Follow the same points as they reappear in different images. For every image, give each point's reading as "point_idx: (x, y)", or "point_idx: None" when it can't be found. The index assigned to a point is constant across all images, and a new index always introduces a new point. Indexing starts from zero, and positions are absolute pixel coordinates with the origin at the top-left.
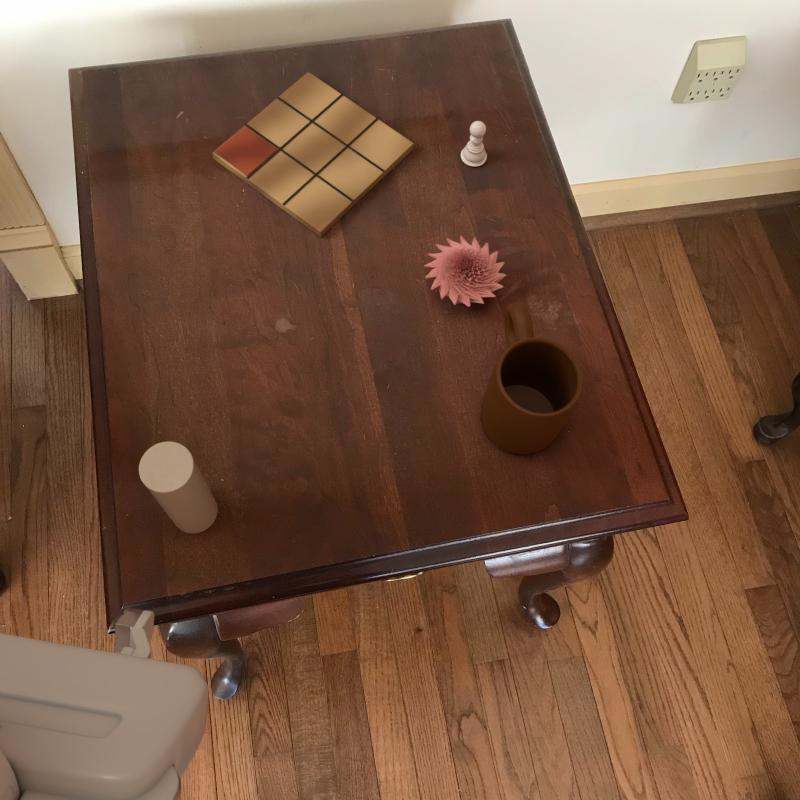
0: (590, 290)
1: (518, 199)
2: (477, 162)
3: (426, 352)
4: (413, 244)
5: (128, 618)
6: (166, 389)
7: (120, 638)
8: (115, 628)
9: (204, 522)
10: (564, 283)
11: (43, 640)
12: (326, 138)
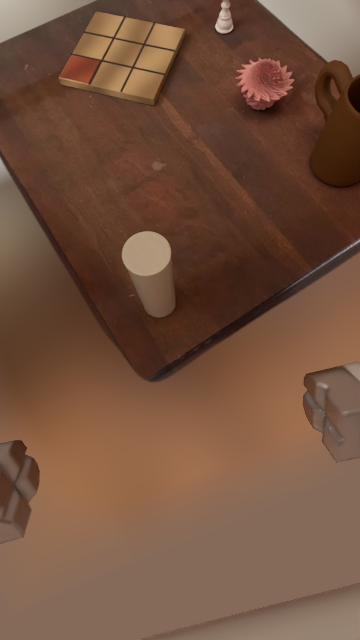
0: None
1: (264, 42)
2: (229, 28)
3: (257, 148)
4: (214, 89)
5: (348, 392)
6: (100, 232)
7: (352, 437)
8: (343, 423)
9: (173, 303)
10: None
11: (324, 605)
12: (128, 44)
